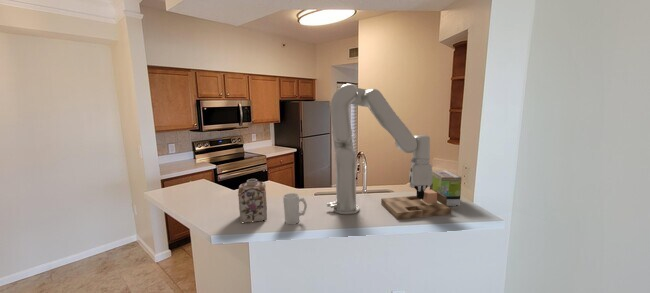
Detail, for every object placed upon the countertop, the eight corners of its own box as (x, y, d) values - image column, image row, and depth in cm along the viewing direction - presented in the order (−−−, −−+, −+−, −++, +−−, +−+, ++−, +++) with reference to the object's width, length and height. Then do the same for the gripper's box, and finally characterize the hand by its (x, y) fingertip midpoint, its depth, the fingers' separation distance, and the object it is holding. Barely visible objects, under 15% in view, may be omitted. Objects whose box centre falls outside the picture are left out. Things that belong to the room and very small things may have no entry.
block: (427, 203, 124) (427, 193, 123) (421, 200, 129) (421, 190, 128) (436, 202, 124) (437, 192, 124) (431, 199, 129) (431, 189, 129)
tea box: (460, 206, 127) (462, 176, 125) (440, 206, 128) (441, 177, 126) (447, 196, 142) (448, 169, 140) (428, 196, 143) (429, 170, 140)
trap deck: (397, 219, 114) (397, 204, 113) (381, 204, 133) (381, 191, 132) (451, 214, 118) (451, 199, 117) (428, 200, 137) (428, 187, 136)
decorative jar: (267, 211, 128) (265, 175, 126) (267, 220, 117) (264, 182, 115) (242, 214, 126) (239, 178, 123) (239, 224, 115) (236, 184, 112)
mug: (283, 225, 112) (282, 198, 111) (285, 218, 119) (284, 193, 117) (306, 224, 112) (305, 197, 111) (307, 218, 119) (306, 192, 117)
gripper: (409, 163, 118) (409, 202, 121) (440, 161, 120) (439, 199, 123) (402, 160, 125) (402, 197, 128) (431, 158, 128) (430, 194, 130)
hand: (420, 198), depth 125 cm, fingers closed
